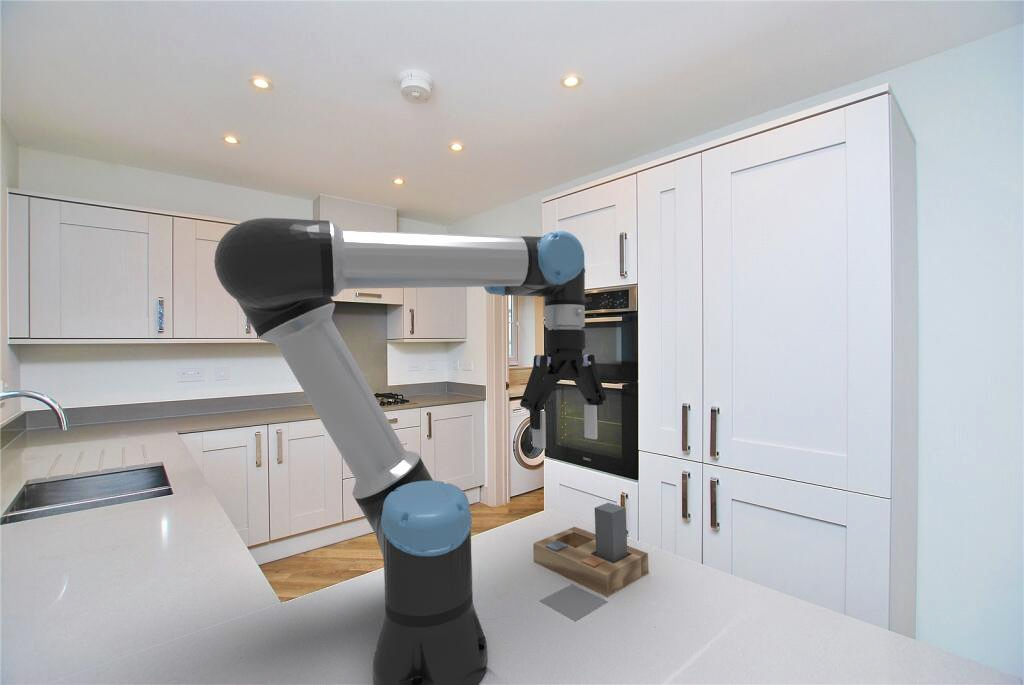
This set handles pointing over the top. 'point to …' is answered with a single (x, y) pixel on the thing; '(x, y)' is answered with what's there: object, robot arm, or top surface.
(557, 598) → the mat
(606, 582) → the socket board
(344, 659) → the top surface
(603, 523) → the plug
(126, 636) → the top surface
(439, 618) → the robot arm
